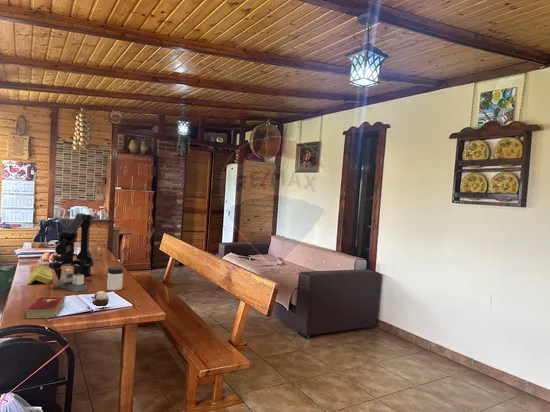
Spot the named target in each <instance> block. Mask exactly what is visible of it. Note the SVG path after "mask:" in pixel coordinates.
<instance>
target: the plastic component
mask: <svg viewBox="0 0 550 412" xmlns="http://www.w3.org/2000/svg"><path fill="white" fill-rule="evenodd" d="M27 279H28V280H27V285H31V284H32V283H33V282H34V281H38V282H40V283H43V284H45V285H49V284H51V281H52V280H53V271H52V269H50V268H47V267H45V266H42V265H36V267H35V268H34V269H33V270H32V272H31V274H30V275H29V277H28V278H27Z"/></svg>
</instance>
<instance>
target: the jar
mask: <svg viewBox="0 0 550 412" xmlns="http://www.w3.org/2000/svg"><path fill="white" fill-rule="evenodd" d="M123 279H124V267H121V266H110V267H108V268H107V280H106V281H107V282H106V289H107V290H108V291H119V290H122V289H123Z"/></svg>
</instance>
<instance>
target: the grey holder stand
mask: <svg viewBox="0 0 550 412" xmlns="http://www.w3.org/2000/svg"><path fill="white" fill-rule="evenodd" d="M84 281H85V276H84V275H82V274H75V275H73V276H72V281H71V282H65V283H64V282H61V279H60V280H56V287H59V288H61V289H65V290H67V291H70V292H73V293H78V292H83V291H88V284H86V283H84Z"/></svg>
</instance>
